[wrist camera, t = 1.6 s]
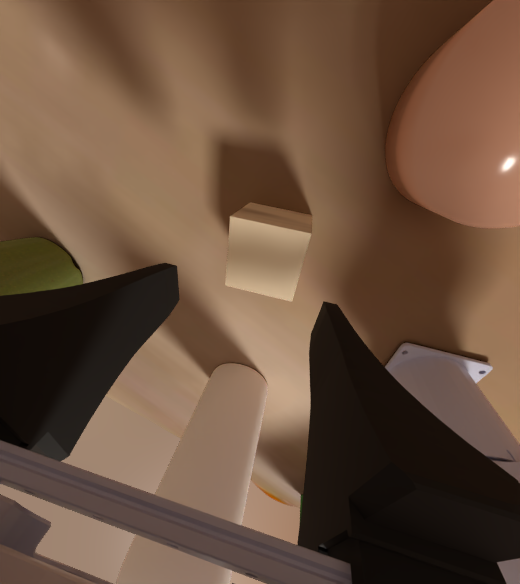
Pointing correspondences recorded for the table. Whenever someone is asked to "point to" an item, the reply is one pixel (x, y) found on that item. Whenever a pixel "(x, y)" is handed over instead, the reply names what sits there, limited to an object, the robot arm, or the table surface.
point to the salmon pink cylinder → (464, 125)
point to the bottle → (206, 475)
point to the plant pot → (35, 266)
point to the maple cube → (267, 250)
